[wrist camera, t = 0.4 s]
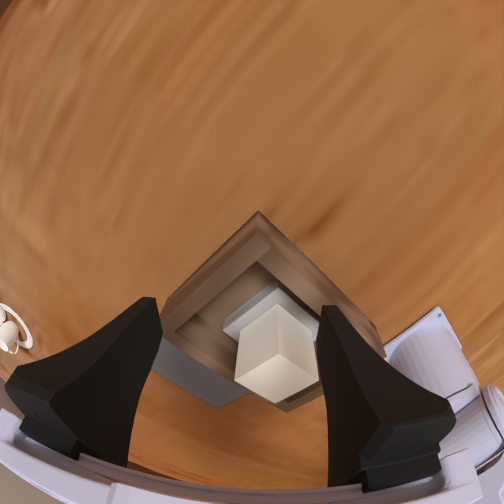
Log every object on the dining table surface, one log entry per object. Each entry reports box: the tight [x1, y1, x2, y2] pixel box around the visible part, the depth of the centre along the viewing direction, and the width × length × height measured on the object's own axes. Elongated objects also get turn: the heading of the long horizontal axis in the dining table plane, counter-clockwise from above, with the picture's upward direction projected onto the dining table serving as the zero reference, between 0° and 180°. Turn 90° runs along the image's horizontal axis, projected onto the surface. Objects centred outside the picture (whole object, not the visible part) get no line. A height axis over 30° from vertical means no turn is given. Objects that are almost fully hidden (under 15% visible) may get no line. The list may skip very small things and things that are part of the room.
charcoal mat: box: [151, 337, 249, 408], centre depth 28 cm, size 12×8×1 cm, turn 46°
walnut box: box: [159, 211, 387, 412], centre depth 22 cm, size 15×11×4 cm
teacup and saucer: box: [0, 304, 33, 354], centre depth 27 cm, size 9×8×4 cm
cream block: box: [234, 304, 319, 403], centre depth 20 cm, size 4×4×5 cm
